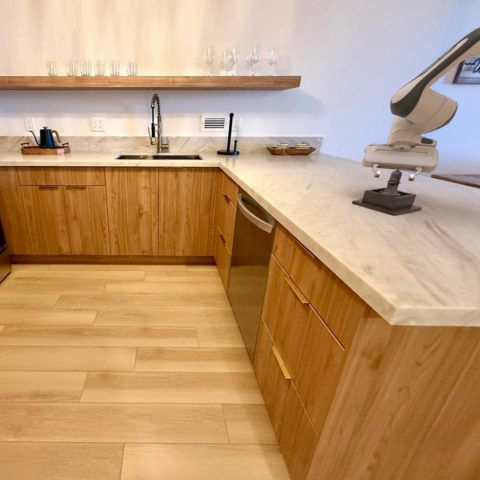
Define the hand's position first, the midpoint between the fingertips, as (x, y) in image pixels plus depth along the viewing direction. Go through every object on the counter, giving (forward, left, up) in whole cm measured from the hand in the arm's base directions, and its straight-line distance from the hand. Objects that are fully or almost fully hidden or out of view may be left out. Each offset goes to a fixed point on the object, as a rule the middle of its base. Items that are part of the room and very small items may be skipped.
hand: (393, 178), depth 97 cm
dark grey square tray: (-2, +3, -9) cm, 10 cm away
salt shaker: (-2, +3, -8) cm, 9 cm away
